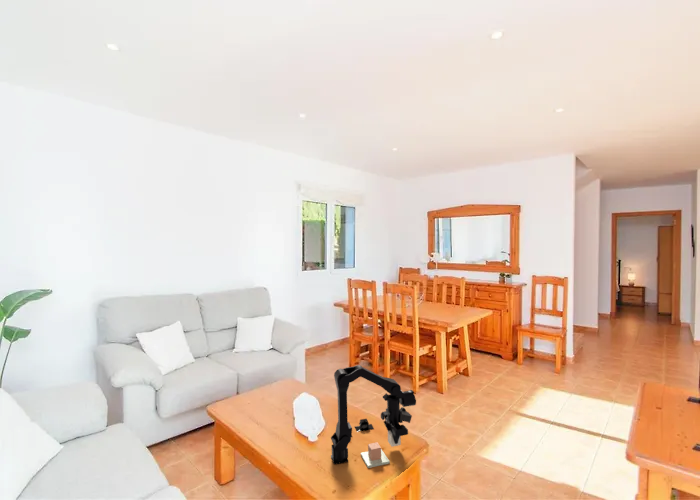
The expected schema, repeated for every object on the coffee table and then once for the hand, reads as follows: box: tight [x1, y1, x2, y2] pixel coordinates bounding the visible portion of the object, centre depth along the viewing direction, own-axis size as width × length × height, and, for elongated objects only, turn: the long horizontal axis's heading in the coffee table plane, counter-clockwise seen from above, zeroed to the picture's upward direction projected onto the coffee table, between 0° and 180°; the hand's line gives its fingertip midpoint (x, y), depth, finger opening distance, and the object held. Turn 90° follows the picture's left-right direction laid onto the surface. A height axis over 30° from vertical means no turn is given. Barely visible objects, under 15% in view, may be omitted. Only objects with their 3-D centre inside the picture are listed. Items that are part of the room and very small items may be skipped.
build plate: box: [360, 448, 391, 469], centre depth 163 cm, size 10×10×1 cm
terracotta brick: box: [367, 441, 382, 461], centre depth 163 cm, size 4×4×5 cm
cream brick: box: [387, 430, 402, 448], centre depth 170 cm, size 4×4×5 cm
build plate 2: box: [354, 418, 375, 433], centre depth 190 cm, size 12×7×5 cm, turn 103°
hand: (394, 440), depth 170 cm, fingers closed on cream brick, 4 cm apart
